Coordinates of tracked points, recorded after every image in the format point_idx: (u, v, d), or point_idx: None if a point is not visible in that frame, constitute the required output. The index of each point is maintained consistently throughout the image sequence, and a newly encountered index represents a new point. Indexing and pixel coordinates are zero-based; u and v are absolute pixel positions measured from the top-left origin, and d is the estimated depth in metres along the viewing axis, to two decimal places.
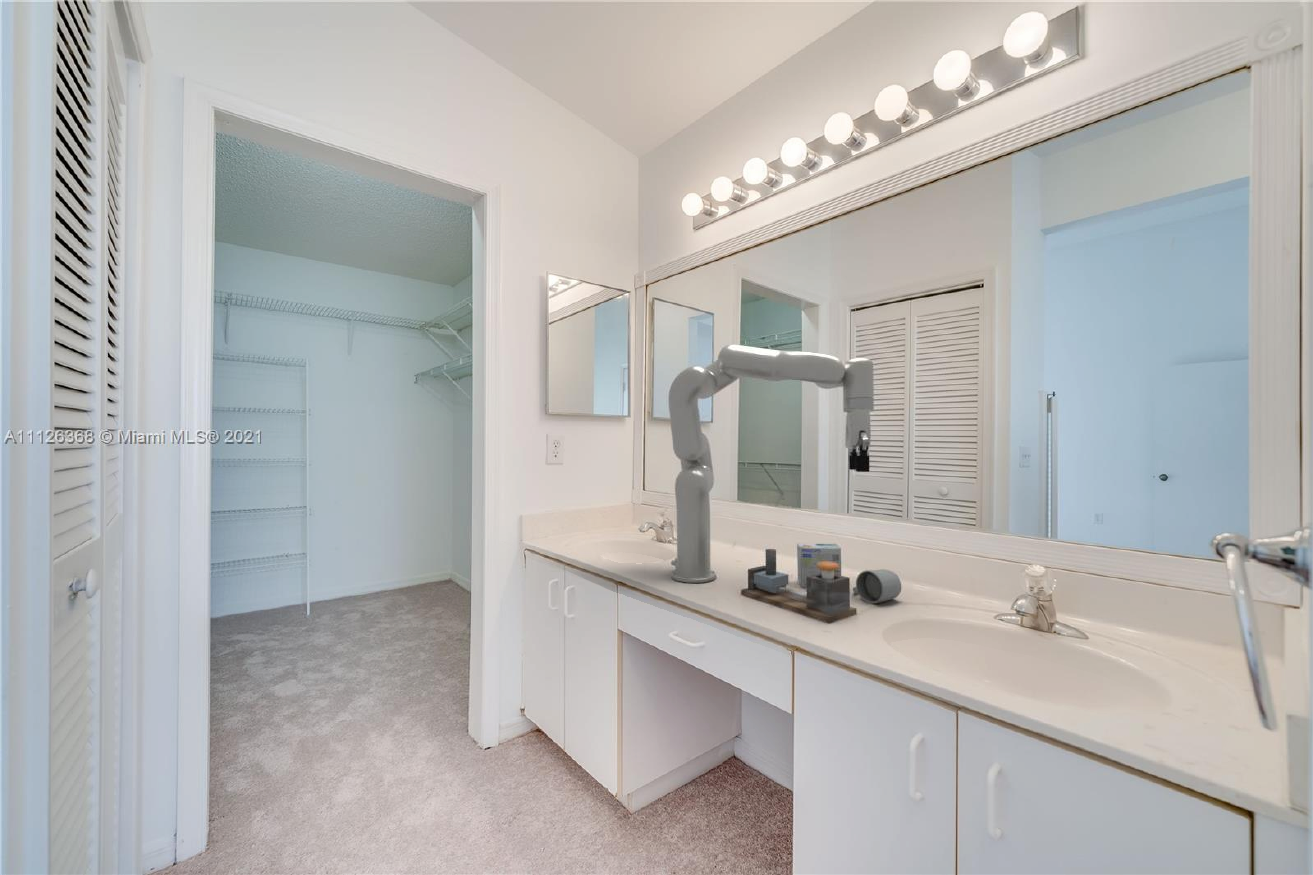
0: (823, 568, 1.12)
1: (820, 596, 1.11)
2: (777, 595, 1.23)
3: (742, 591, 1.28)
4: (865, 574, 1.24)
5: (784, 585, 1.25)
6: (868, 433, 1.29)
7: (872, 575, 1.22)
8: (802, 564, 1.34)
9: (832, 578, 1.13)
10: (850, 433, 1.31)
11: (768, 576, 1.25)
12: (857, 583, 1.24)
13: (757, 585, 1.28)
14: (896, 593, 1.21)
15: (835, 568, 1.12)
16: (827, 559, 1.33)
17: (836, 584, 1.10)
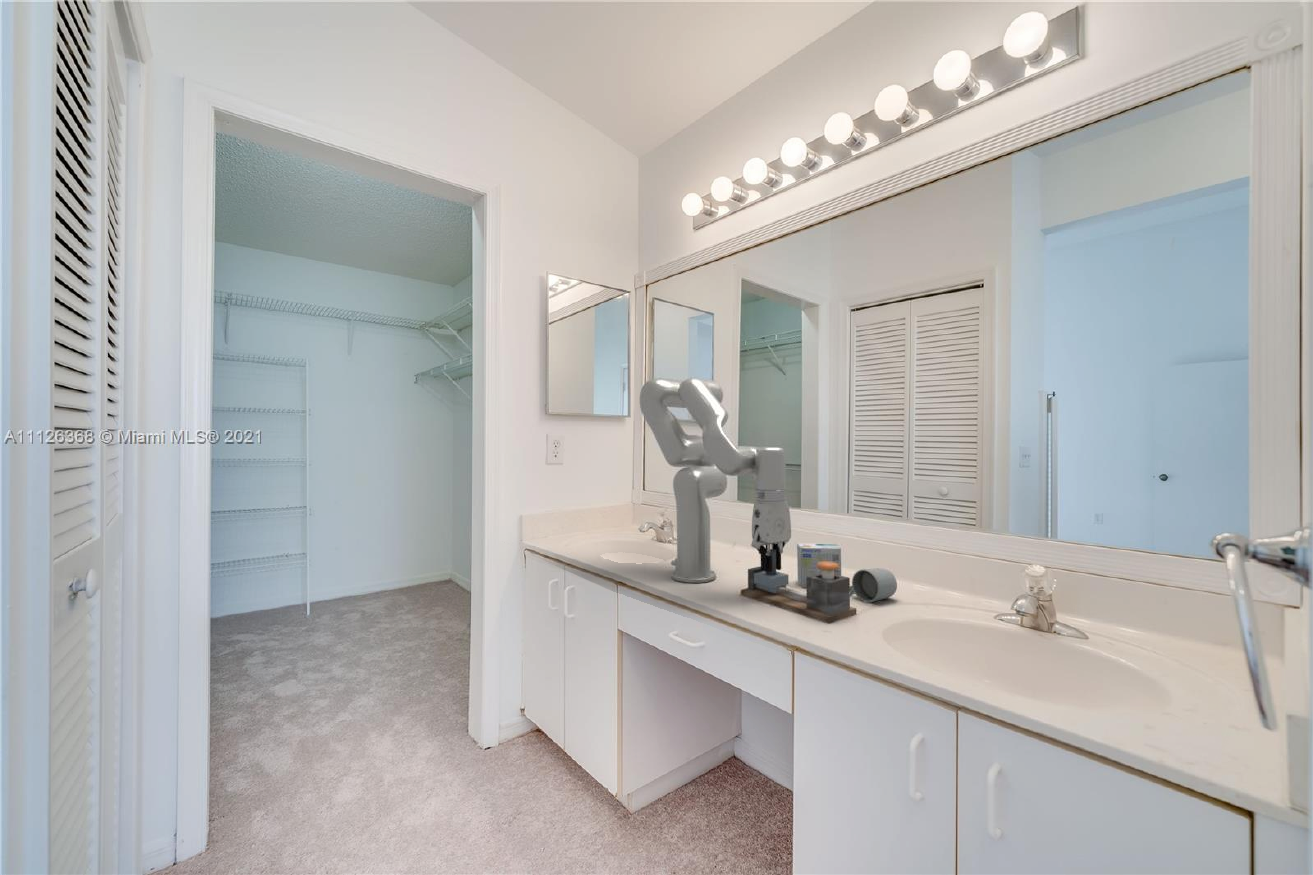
0: (823, 568, 1.12)
1: (820, 596, 1.11)
2: (777, 595, 1.23)
3: (742, 591, 1.28)
4: (861, 573, 1.26)
5: (784, 585, 1.25)
6: None
7: (868, 574, 1.23)
8: (802, 564, 1.34)
9: (832, 578, 1.13)
10: (788, 525, 1.27)
11: (768, 576, 1.25)
12: (853, 582, 1.25)
13: (757, 585, 1.28)
14: (891, 592, 1.22)
15: (835, 568, 1.12)
16: (827, 559, 1.33)
17: (836, 584, 1.10)
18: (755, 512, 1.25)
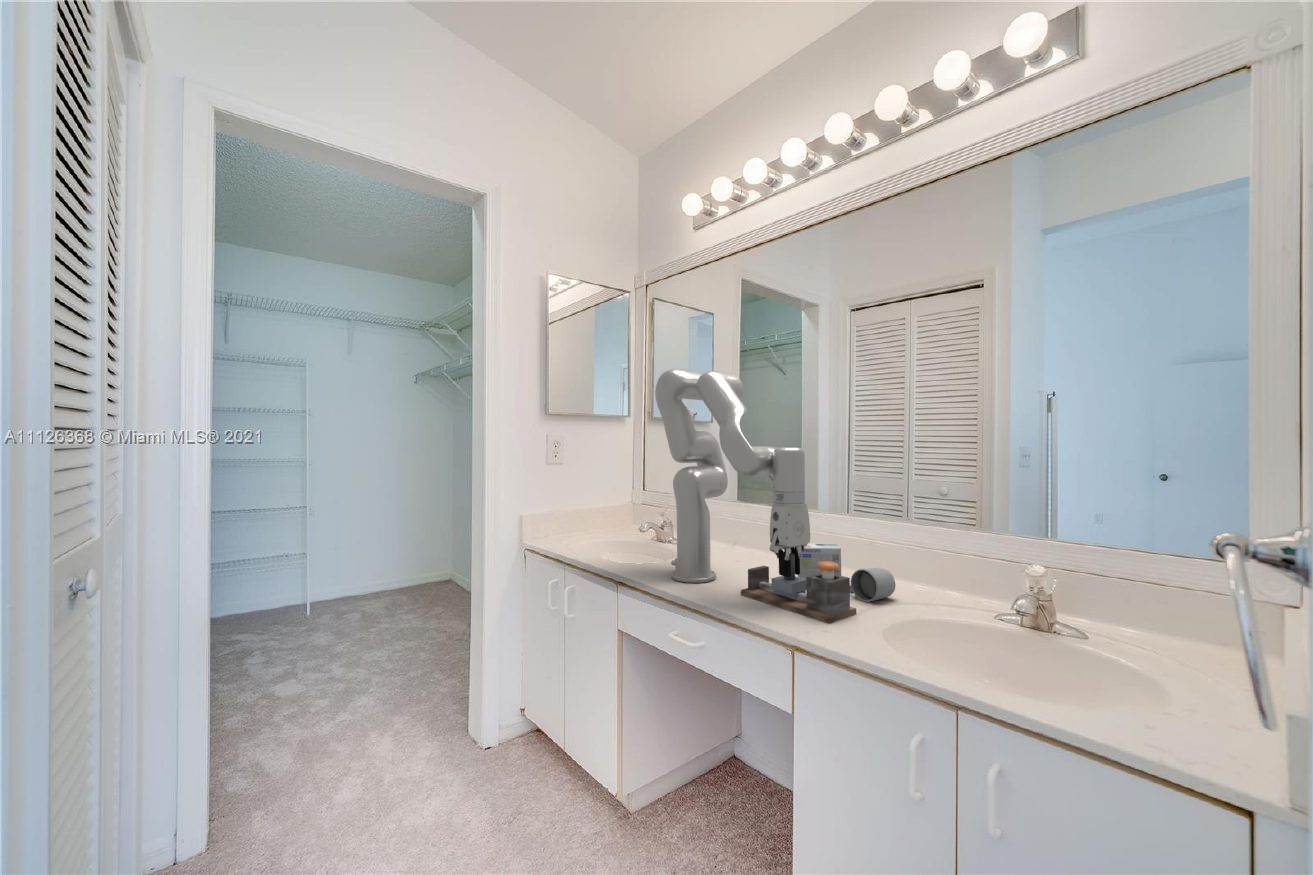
0: (823, 568, 1.12)
1: (820, 596, 1.11)
2: (777, 595, 1.23)
3: (742, 591, 1.28)
4: (860, 573, 1.26)
5: (803, 590, 1.21)
6: None
7: (867, 573, 1.24)
8: (802, 564, 1.34)
9: (832, 578, 1.13)
10: (807, 528, 1.23)
11: (787, 581, 1.20)
12: (852, 581, 1.26)
13: (775, 590, 1.23)
14: (890, 592, 1.22)
15: (835, 568, 1.12)
16: (827, 559, 1.33)
17: (836, 584, 1.10)
18: (773, 515, 1.21)
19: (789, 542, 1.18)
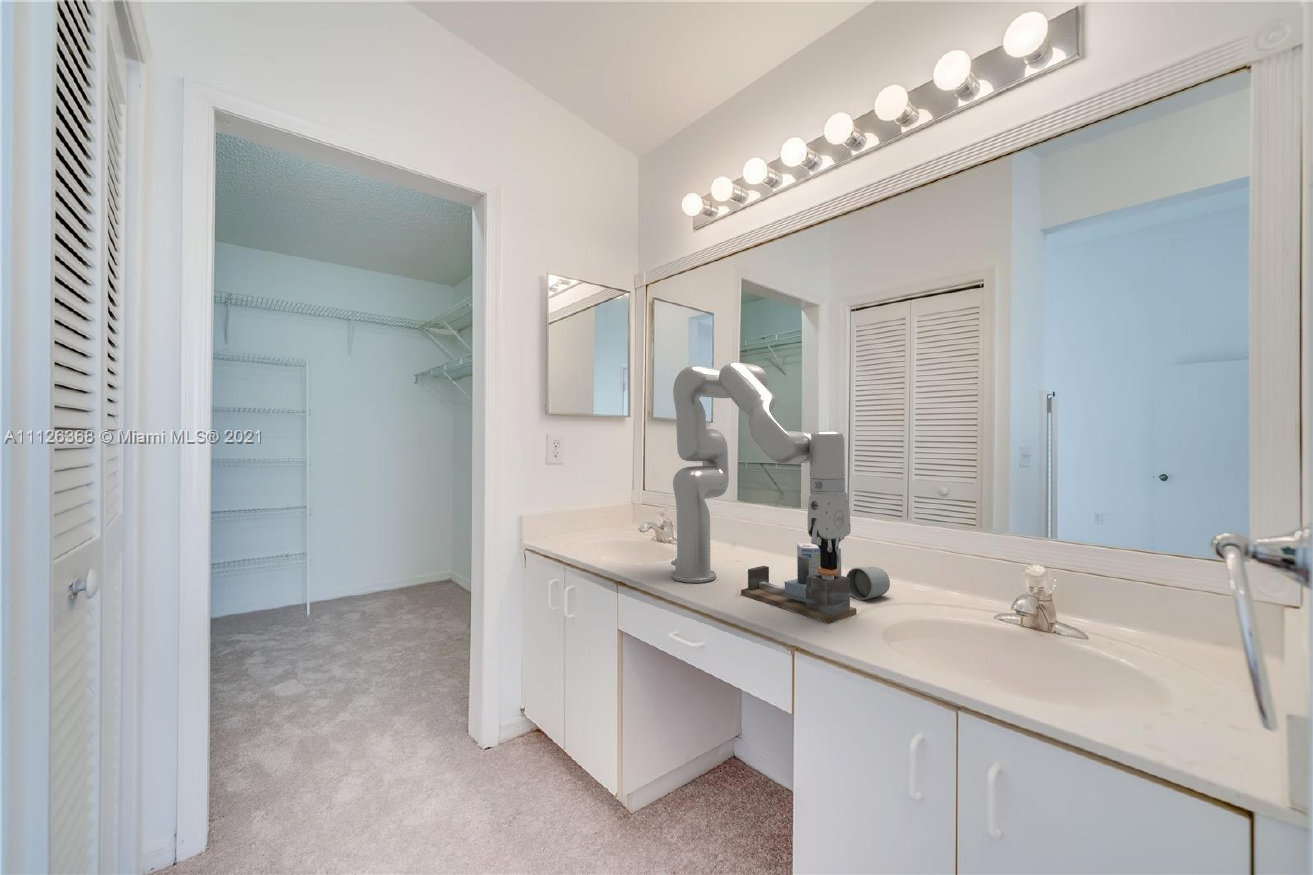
0: (823, 573, 1.12)
1: (820, 596, 1.11)
2: (777, 595, 1.23)
3: (742, 591, 1.28)
4: (855, 571, 1.27)
5: None
6: None
7: (861, 572, 1.25)
8: None
9: None
10: (848, 518, 1.14)
11: (801, 585, 1.17)
12: None
13: (788, 594, 1.20)
14: (884, 590, 1.24)
15: (835, 573, 1.12)
16: None
17: (836, 584, 1.10)
18: (811, 504, 1.12)
19: (829, 533, 1.10)
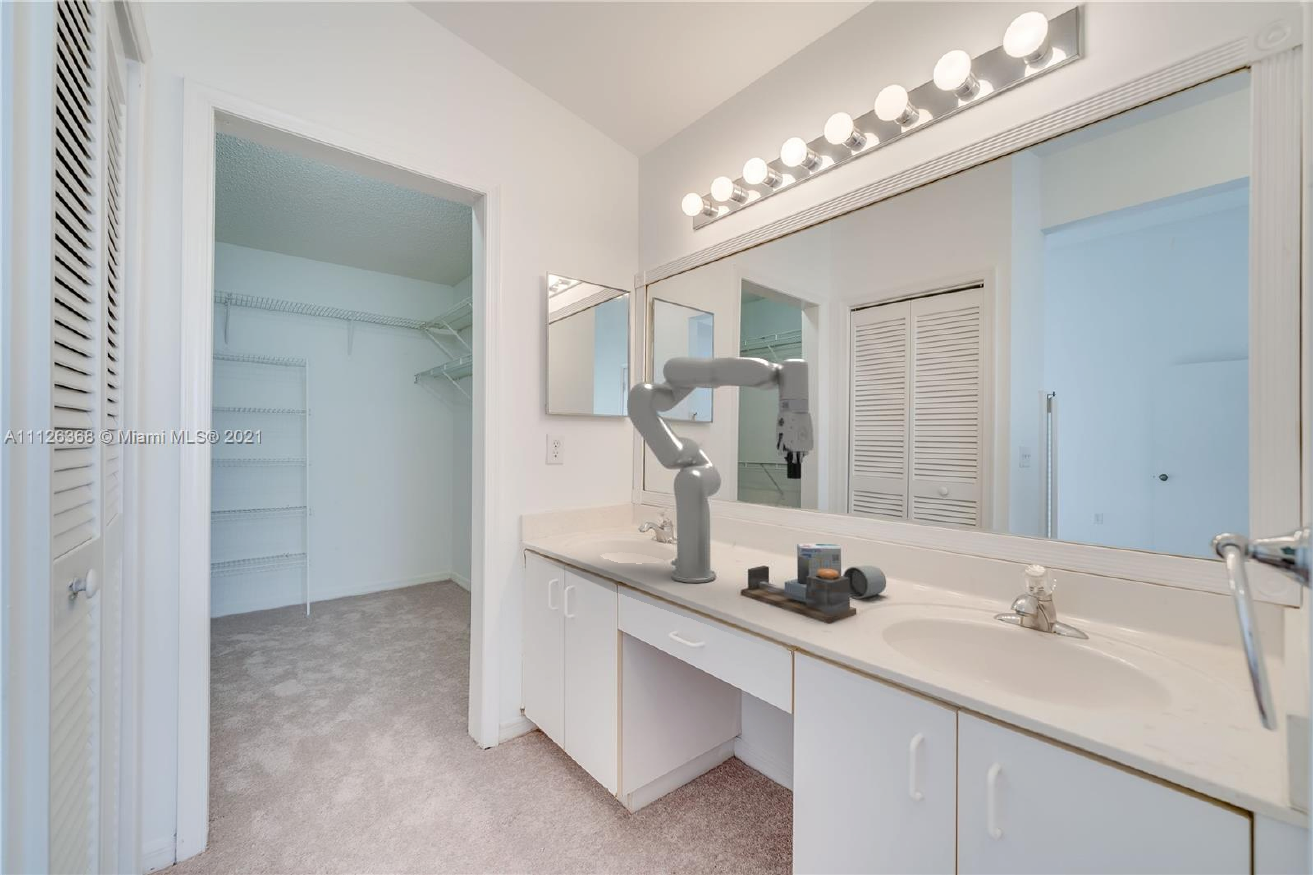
0: (823, 576, 1.12)
1: (820, 596, 1.11)
2: (777, 595, 1.23)
3: (742, 591, 1.28)
4: (851, 570, 1.28)
5: None
6: None
7: (858, 571, 1.26)
8: None
9: None
10: (811, 435, 1.31)
11: (801, 585, 1.17)
12: None
13: (788, 594, 1.20)
14: (881, 589, 1.25)
15: (835, 576, 1.12)
16: (827, 559, 1.33)
17: (836, 584, 1.10)
18: (779, 421, 1.30)
19: (794, 445, 1.27)
